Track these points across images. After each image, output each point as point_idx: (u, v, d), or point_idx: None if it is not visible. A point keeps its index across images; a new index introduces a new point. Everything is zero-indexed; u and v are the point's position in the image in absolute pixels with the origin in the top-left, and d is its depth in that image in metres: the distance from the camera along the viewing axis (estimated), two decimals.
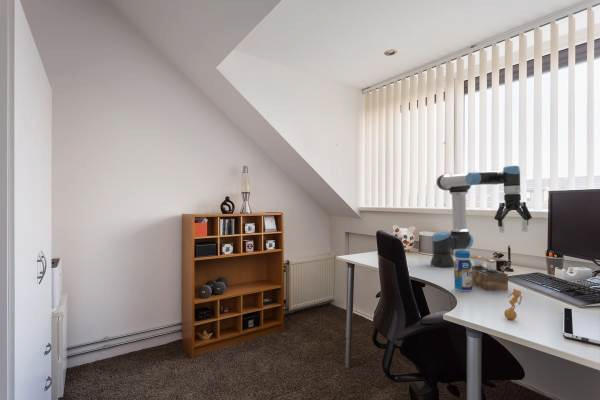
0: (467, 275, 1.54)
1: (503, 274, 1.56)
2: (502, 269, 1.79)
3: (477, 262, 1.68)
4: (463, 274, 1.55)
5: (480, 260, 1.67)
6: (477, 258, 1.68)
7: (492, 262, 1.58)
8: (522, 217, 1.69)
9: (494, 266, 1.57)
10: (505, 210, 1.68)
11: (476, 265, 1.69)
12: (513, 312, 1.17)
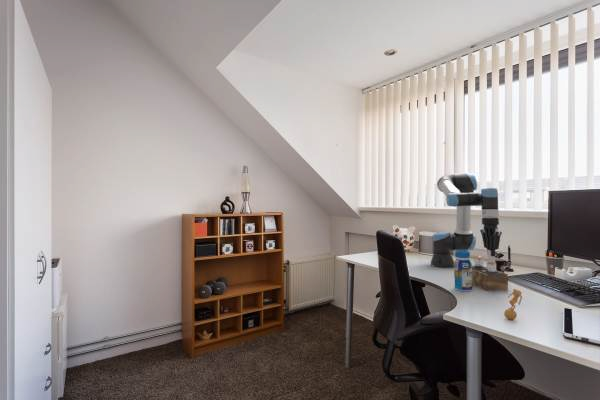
0: (467, 275, 1.54)
1: (503, 274, 1.56)
2: (502, 269, 1.79)
3: (477, 262, 1.68)
4: (463, 274, 1.55)
5: (480, 260, 1.67)
6: (477, 258, 1.68)
7: (492, 264, 1.58)
8: None
9: (494, 268, 1.57)
10: None
11: (476, 265, 1.69)
12: (513, 312, 1.17)
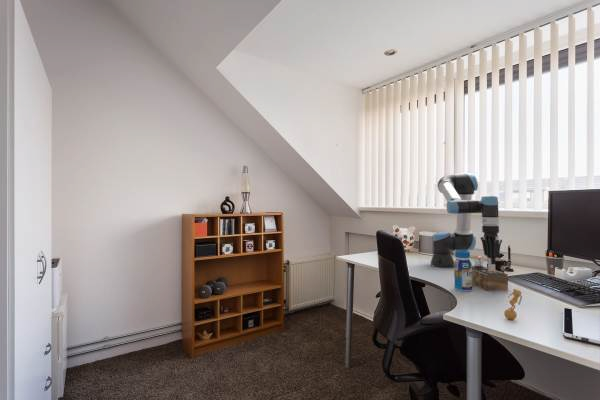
0: (467, 275, 1.54)
1: (503, 274, 1.56)
2: (502, 269, 1.79)
3: (477, 262, 1.68)
4: (463, 274, 1.55)
5: (480, 260, 1.67)
6: (477, 258, 1.68)
7: (492, 272, 1.58)
8: None
9: None
10: None
11: (476, 265, 1.69)
12: (513, 312, 1.17)
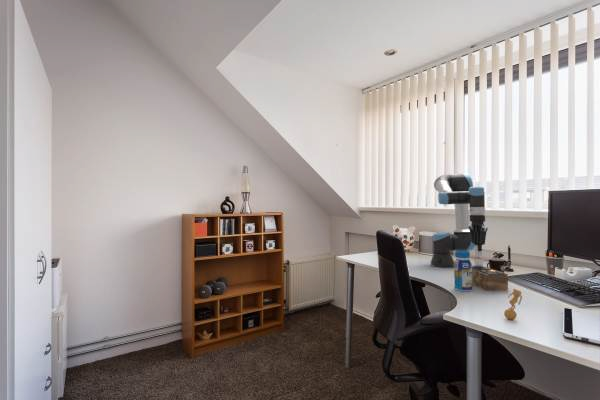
0: (467, 275, 1.54)
1: (503, 274, 1.56)
2: (502, 269, 1.79)
3: (477, 262, 1.68)
4: (463, 274, 1.55)
5: (480, 260, 1.67)
6: (477, 258, 1.68)
7: None
8: None
9: None
10: None
11: (476, 265, 1.69)
12: (513, 312, 1.17)
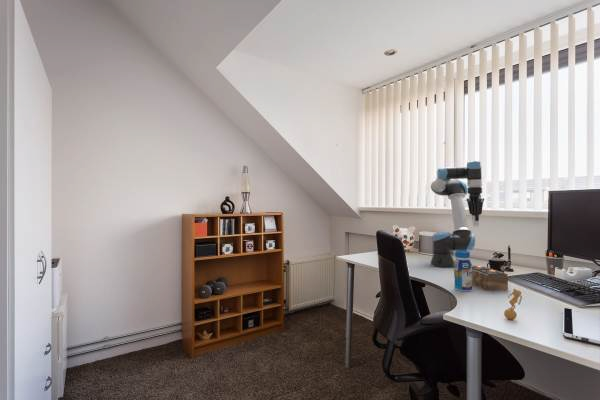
0: (467, 275, 1.54)
1: (503, 274, 1.56)
2: (502, 269, 1.79)
3: None
4: (463, 274, 1.55)
5: None
6: (477, 268, 1.68)
7: None
8: None
9: None
10: None
11: None
12: (513, 312, 1.17)
